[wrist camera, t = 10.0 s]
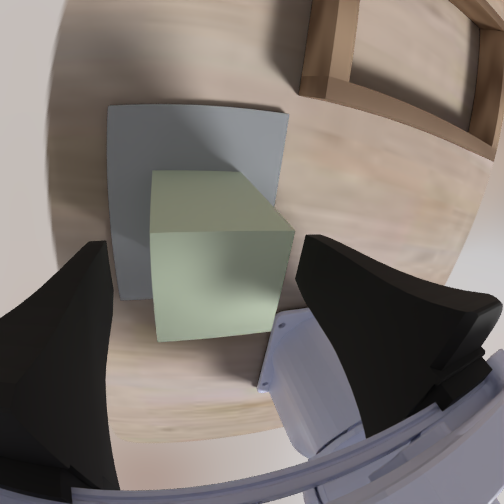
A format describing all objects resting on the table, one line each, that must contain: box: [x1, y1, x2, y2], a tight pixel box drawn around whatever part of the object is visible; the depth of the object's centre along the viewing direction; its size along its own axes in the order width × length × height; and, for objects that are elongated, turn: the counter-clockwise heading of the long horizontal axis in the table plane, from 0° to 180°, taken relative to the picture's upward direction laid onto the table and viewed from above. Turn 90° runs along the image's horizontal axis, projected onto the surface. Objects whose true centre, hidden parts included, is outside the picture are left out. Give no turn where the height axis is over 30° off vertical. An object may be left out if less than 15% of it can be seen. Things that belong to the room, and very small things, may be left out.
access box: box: [299, 0, 504, 162], centre depth 11 cm, size 12×16×2 cm
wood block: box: [150, 170, 295, 342], centre depth 11 cm, size 4×4×6 cm
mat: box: [107, 104, 289, 300], centre depth 14 cm, size 10×8×1 cm
